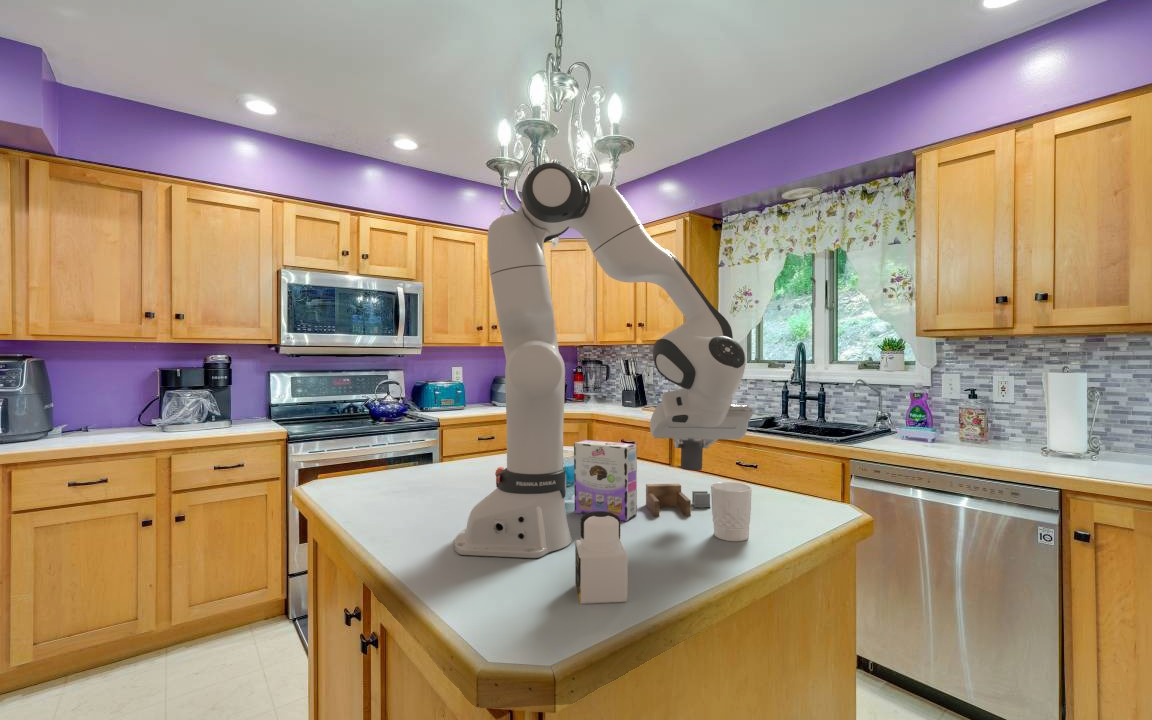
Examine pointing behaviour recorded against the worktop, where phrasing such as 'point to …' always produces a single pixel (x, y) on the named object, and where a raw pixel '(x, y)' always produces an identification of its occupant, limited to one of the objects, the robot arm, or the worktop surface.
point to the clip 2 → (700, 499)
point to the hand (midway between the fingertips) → (690, 445)
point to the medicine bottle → (600, 560)
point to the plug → (691, 454)
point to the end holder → (666, 498)
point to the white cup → (731, 510)
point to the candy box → (605, 478)
